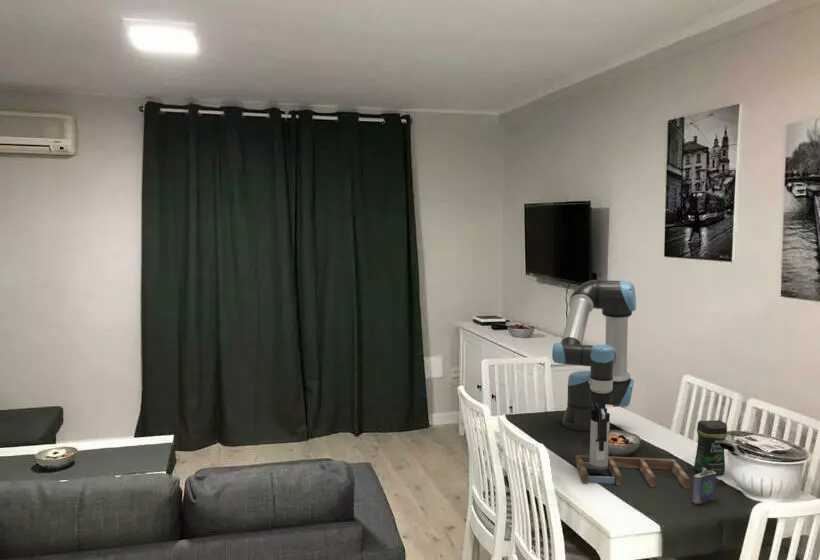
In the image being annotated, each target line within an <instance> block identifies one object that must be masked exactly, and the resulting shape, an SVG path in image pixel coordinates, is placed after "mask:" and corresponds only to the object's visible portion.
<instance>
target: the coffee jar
mask: <svg viewBox="0 0 820 560" xmlns="http://www.w3.org/2000/svg"><path fill="white" fill-rule="evenodd" d="M696 432H697V446H696V453H695V459H694V470H695V471H697V473H698V474H699V473H702V471H703V469H704V468H703V467H705V468H706V470H707V471H714V472H716V473H717V476H718V475H723V474H725V472H726V461H725V459H726V458H725V447H724V448H722V447H721V446H720V445H719V443H722V442H723V441H724V440H725V441H726V438H727V436H728V426H727V422H724V421H722V420H720V419H717V420H715V419H713V420H698V422H697V427H696ZM725 437H726V438H725ZM701 468H703V469H701Z"/></svg>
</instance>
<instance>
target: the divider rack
mask: <svg viewBox="0 0 820 560" xmlns="http://www.w3.org/2000/svg"><path fill="white" fill-rule="evenodd" d="M589 461H590V454H588V455H586V454H584V455H583V454H576V455H575V466H576V468H577V472H578V474H579V476H580V479H581V482H582V484H583V485H588V476H589V473H588V470H587V469H586V468H585V466H584V463H583V462H589ZM636 468H637V470H638V469H639V471H640V473H641V475H643V477H644V479H645V481H646V483H647V484H648V486H649V488H655V487H656V476H655V474H654V473H653V471H652V470H658V469H660V470H661V471H662V470H664V471H665V470H666V471H671V472H672V474H673V475H674V476H675V478H676V479H677V481H678V482H679V483H680V484H681V486H682V487H683V488H684V490H685V489H686V490H689V489H690V481H691V480H690V477H689V476H688V474H687V473H686V472H685V471H684V470H683V468H682V467H681V465H680V464H679V463H678V462H677V461H676V459H675V458H656V457H655V458H654V457H635V456H634V457H631V456H630V457H629V456H609V455H608V471H609V473H610V475H611V477H615V485H616V486H619V487H620V486H622V474H621V472H620V470H619V469H636Z"/></svg>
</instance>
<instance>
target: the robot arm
mask: <svg viewBox="0 0 820 560" xmlns="http://www.w3.org/2000/svg"><path fill="white" fill-rule="evenodd" d="M569 297H570V298H569V300H568V306H569V311H568V314H567V319H566V323H565V327H564V330H563V334H562V336H561V337H562V338H561V342H554V344H553V346H552V353H551V355H552V356H551V357H552V362H554V363H556V364H559V365H560V364H562V365H569V366H570V365H571V366H582V367H590V370H579V371H574V372H572V373H570V374H569V375H568V378H567V400H566V401H567V403H566V404H567V406H566V409H565V412H564V414H563V417H562V425H563V427H565V428H567V429H571V430H575V431H582V432H583V431H584V432H585V431H586V432H587V431H591V410H594V411H595V412H596V413H598V414H599V419H598V418H597V416H596V420H597V421H598V429H597V433H598V439H597V440H595V441H597V448H596V459H597V460H605V442H606V441H607V416H608V414H607V413H608V408H607V407H606V406H608V405H609V406H616V407H629V406H630V404H631V398H632V394H633V389H634V382H635V380H634V379H633V378H631V373H630V372H629V371H627V370H628V369H627V368H628V330H629V328H628V327H629V318H630V317H631V316H632V315H633V312H634V311H636V309H637V302H636V301H637V298H636V289H635V285H634V283H632V282H631V281H625V280H603V279H601V280H600V279H592V280H588V281H586V282H584V283H582V284H580V285H579V286H578V287H577V288H575V289H574V291H573V292H572V293H571V296H569ZM593 309H596V310H599V309H600V310H601V314H602V316H603V317H604V318H605V341H604V342H605V344H595V345H588V344H583V342H584V337H585V333H586V328H587V325H588V320H589V316H590V313H591V312H592V311H593Z"/></svg>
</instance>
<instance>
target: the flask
mask: <svg viewBox="0 0 820 560" xmlns="http://www.w3.org/2000/svg"><path fill="white" fill-rule="evenodd" d="M703 468H704V469H703ZM703 468H701V469H703V471H702V473H699V472H698V473H697V474H694V476H693V489H692V503H693V504H695V505H701V504H705V503H708V502H712V501H715V500H716V489H717V487H716V486H717V476H718V475H717V473H716V472H714V471H707V470H706V468H705V467H703Z"/></svg>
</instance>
